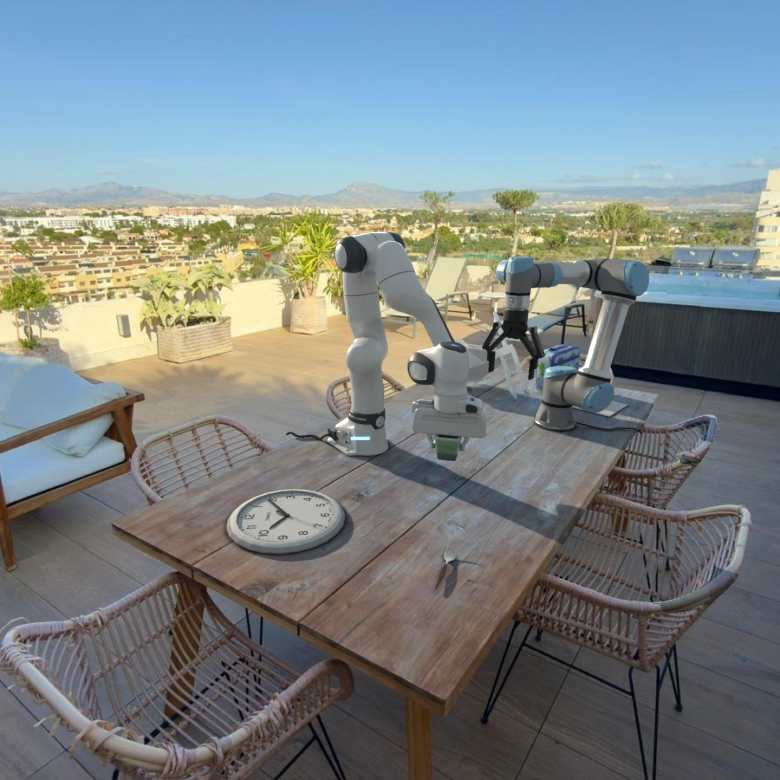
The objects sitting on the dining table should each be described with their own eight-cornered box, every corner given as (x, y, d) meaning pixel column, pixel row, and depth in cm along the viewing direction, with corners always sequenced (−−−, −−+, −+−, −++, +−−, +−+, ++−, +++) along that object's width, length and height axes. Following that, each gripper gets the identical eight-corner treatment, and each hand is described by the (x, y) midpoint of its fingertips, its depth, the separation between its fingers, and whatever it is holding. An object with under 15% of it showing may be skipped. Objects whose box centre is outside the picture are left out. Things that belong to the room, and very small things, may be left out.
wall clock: (345, 545, 122) (213, 550, 119) (345, 551, 122) (214, 556, 120) (344, 484, 150) (238, 487, 148) (345, 490, 151) (239, 492, 148)
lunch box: (552, 397, 237) (557, 352, 231) (531, 392, 245) (535, 348, 238) (579, 386, 255) (584, 344, 249) (558, 381, 262) (563, 340, 256)
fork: (429, 589, 110) (429, 581, 109) (447, 548, 124) (448, 541, 124) (441, 592, 109) (441, 584, 108) (458, 550, 123) (459, 543, 123)
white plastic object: (461, 429, 252) (437, 405, 227) (444, 352, 274) (420, 323, 250) (535, 404, 240) (518, 377, 215) (510, 326, 262) (492, 293, 237)
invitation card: (608, 416, 214) (573, 407, 224) (608, 416, 214) (573, 408, 224) (628, 404, 229) (594, 396, 238) (628, 405, 229) (594, 397, 238)
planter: (442, 426, 170) (443, 405, 168) (464, 428, 169) (466, 407, 167) (432, 461, 144) (434, 437, 142) (459, 464, 143) (460, 440, 141)
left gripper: (410, 402, 140) (409, 450, 144) (487, 408, 137) (484, 457, 141) (413, 395, 146) (412, 441, 150) (488, 401, 143) (484, 447, 147)
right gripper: (474, 305, 165) (470, 370, 171) (551, 314, 151) (543, 384, 157) (485, 303, 170) (480, 366, 177) (560, 311, 156) (552, 379, 163)
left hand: (447, 449), depth 145 cm, fingers closed on planter, 6 cm apart
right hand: (510, 375), depth 167 cm, fingers open, 13 cm apart
